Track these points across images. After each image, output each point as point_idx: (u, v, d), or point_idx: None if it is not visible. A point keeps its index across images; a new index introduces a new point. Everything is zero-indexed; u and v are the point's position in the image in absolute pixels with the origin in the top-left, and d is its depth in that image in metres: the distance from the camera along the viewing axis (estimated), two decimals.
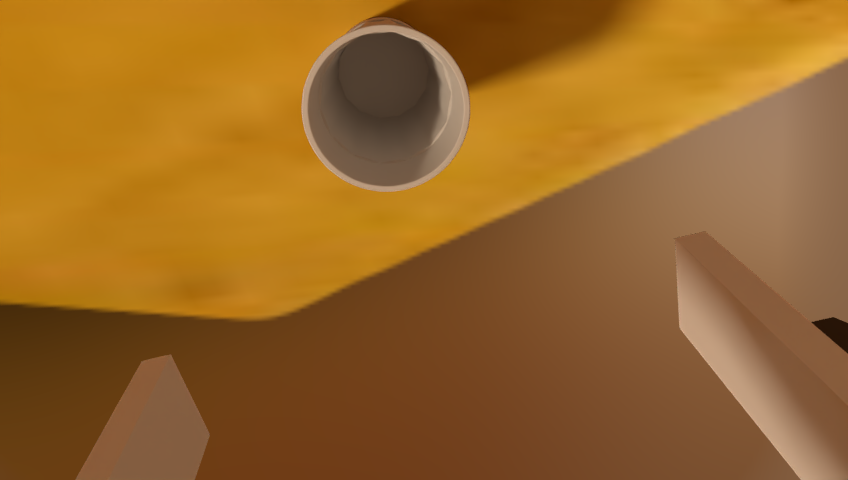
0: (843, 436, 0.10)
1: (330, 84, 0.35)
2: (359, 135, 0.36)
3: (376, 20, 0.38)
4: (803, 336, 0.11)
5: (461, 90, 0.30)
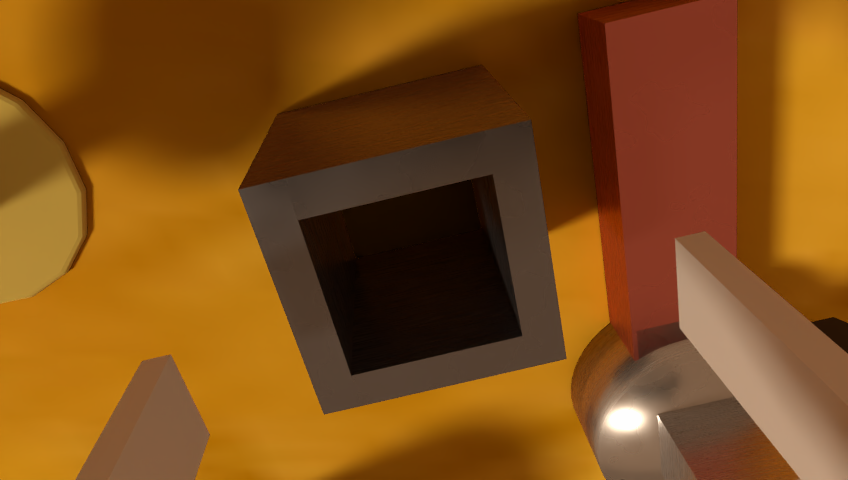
0: (843, 436, 0.10)
1: None
2: None
3: None
4: (803, 336, 0.11)
5: None
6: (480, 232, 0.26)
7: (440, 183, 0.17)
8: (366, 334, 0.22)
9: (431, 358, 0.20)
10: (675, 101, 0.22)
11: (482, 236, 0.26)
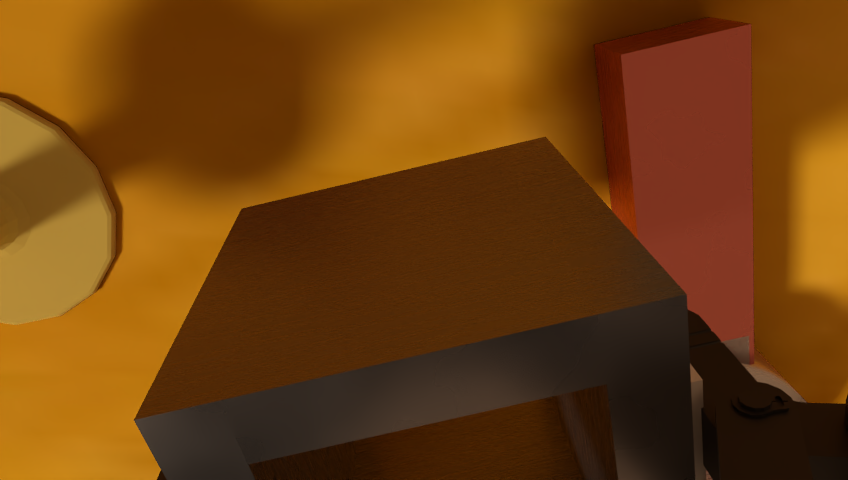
0: None
1: None
2: None
3: None
4: None
5: None
6: None
7: (510, 401, 0.09)
8: None
9: None
10: (691, 130, 0.22)
11: None
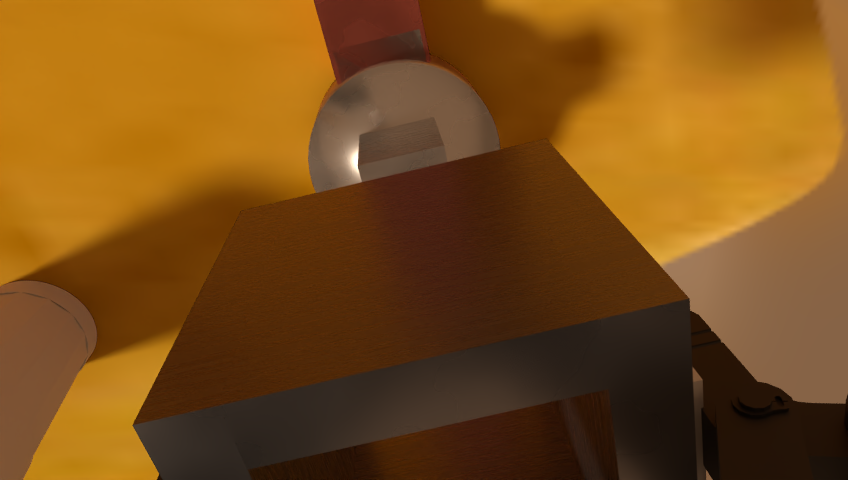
0: None
1: None
2: None
3: (6, 293, 0.34)
4: None
5: None
6: None
7: (511, 407, 0.09)
8: None
9: None
10: None
11: None
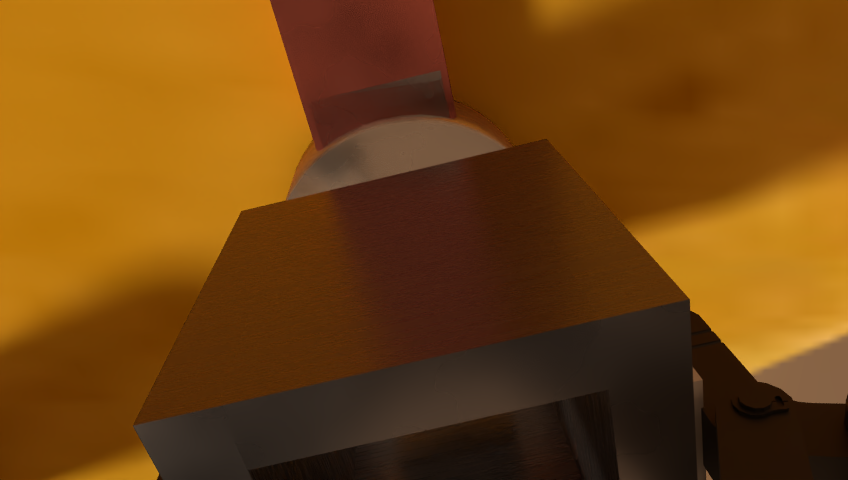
0: None
1: None
2: None
3: None
4: None
5: None
6: None
7: (511, 407, 0.09)
8: None
9: None
10: None
11: None
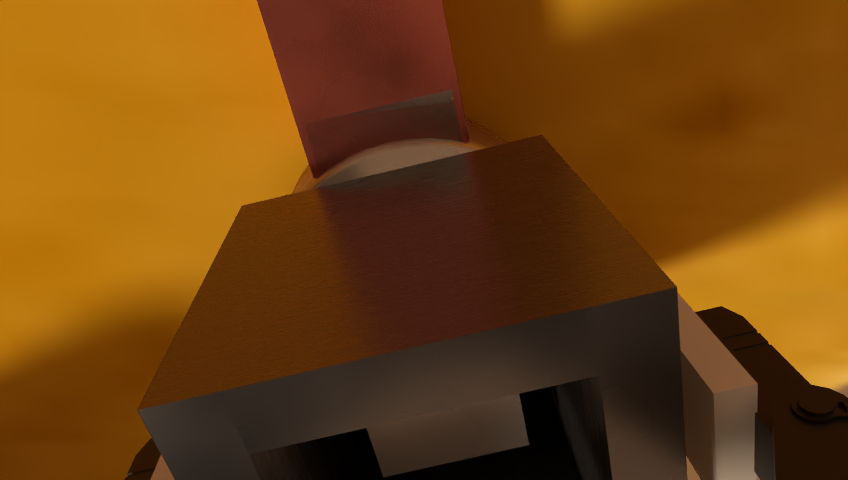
0: (706, 411, 0.11)
1: None
2: None
3: None
4: (683, 322, 0.12)
5: None
6: None
7: (505, 393, 0.09)
8: None
9: None
10: None
11: None
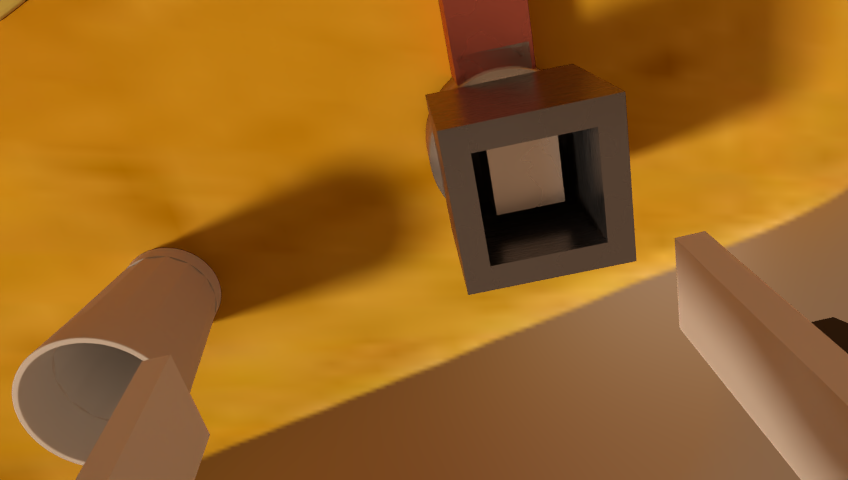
0: (843, 436, 0.10)
1: None
2: (121, 379, 0.37)
3: (154, 256, 0.39)
4: (803, 336, 0.11)
5: None
6: None
7: (564, 131, 0.27)
8: (493, 245, 0.31)
9: (545, 256, 0.29)
10: None
11: (565, 190, 0.36)
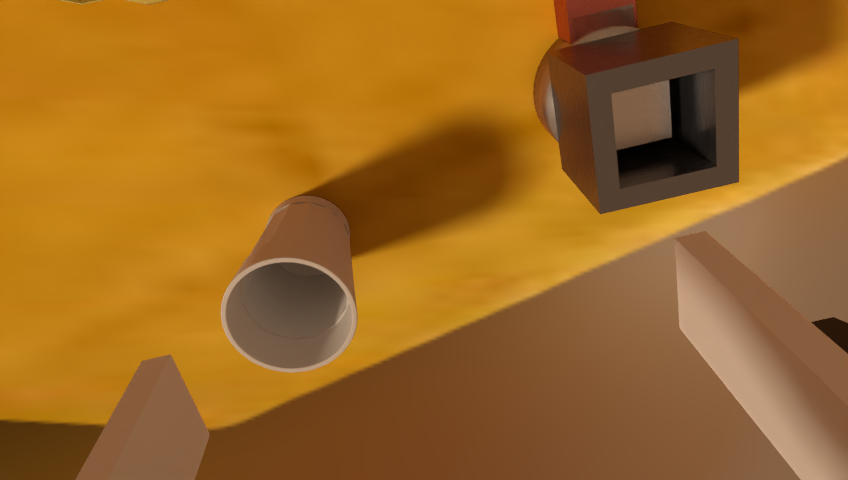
0: (843, 436, 0.10)
1: None
2: (281, 306, 0.44)
3: (299, 202, 0.46)
4: (803, 336, 0.11)
5: (349, 300, 0.37)
6: None
7: (687, 73, 0.33)
8: None
9: (665, 179, 0.35)
10: None
11: None
